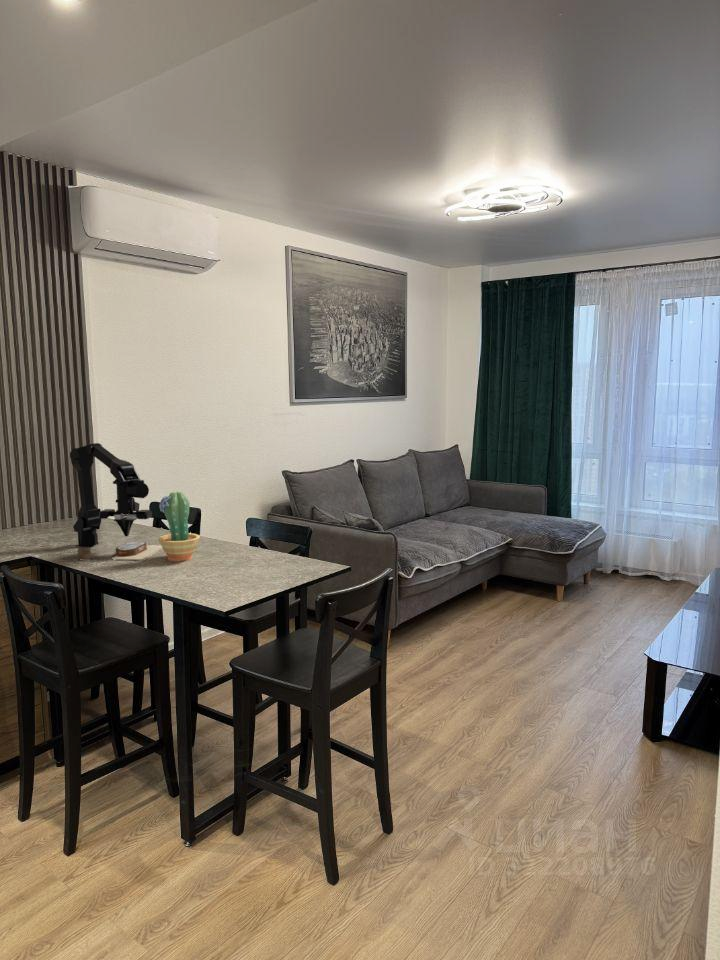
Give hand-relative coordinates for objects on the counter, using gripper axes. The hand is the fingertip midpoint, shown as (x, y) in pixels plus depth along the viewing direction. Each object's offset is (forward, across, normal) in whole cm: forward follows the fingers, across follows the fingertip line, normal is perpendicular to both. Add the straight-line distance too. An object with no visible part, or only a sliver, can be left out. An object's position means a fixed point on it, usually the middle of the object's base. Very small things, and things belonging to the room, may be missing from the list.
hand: (126, 536), depth 254 cm
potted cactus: (+7, -23, +6) cm, 25 cm away
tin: (+4, +2, 0) cm, 5 cm away
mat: (+7, -5, 0) cm, 8 cm away
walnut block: (+7, +12, +10) cm, 17 cm away
